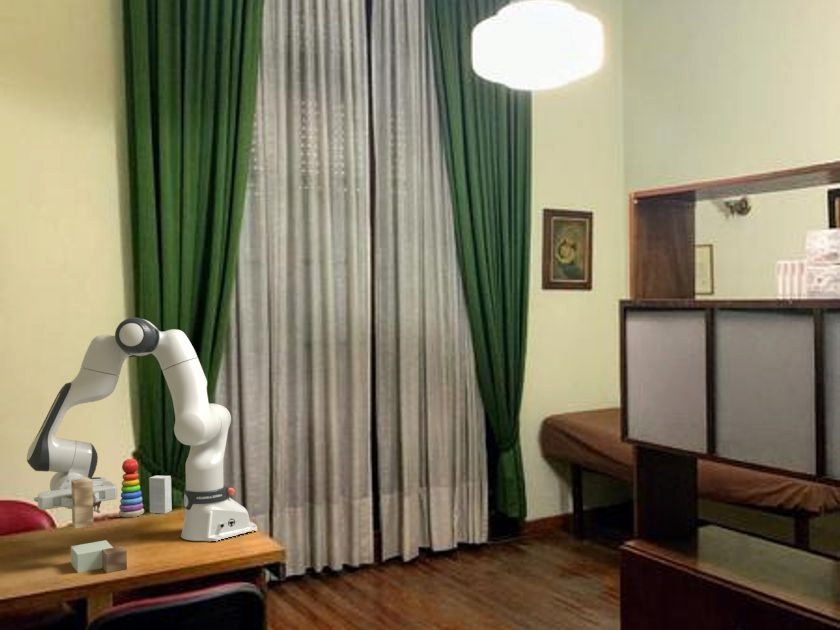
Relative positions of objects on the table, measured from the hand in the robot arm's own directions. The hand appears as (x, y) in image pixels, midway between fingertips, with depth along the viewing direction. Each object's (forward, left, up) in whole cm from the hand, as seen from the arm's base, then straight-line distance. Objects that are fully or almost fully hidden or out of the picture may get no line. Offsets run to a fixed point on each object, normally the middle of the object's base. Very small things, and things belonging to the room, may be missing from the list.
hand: (83, 501), depth 207 cm
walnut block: (-6, +10, -17) cm, 20 cm away
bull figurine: (-14, -54, -17) cm, 59 cm away
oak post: (0, -1, -7) cm, 7 cm away
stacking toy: (-24, -44, -17) cm, 53 cm away
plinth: (-2, +3, -17) cm, 17 cm away
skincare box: (-33, -42, -17) cm, 56 cm away
